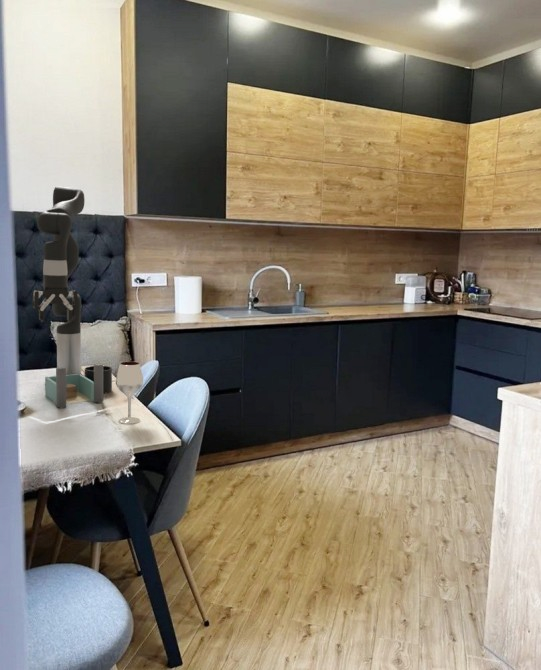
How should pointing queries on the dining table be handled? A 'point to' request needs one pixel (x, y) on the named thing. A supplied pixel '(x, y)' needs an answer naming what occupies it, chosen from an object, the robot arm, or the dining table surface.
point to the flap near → (61, 387)
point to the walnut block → (71, 391)
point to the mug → (106, 377)
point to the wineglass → (129, 385)
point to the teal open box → (75, 379)
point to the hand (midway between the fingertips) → (55, 321)
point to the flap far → (97, 384)
